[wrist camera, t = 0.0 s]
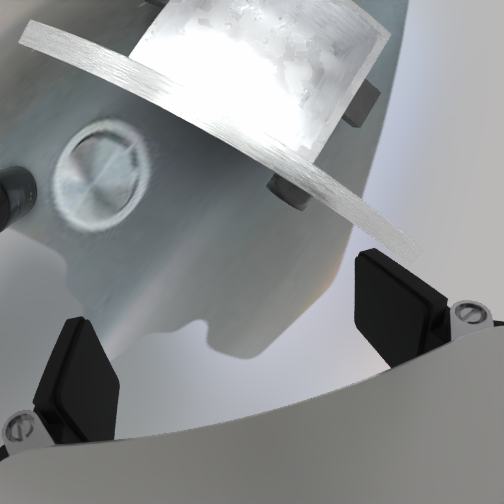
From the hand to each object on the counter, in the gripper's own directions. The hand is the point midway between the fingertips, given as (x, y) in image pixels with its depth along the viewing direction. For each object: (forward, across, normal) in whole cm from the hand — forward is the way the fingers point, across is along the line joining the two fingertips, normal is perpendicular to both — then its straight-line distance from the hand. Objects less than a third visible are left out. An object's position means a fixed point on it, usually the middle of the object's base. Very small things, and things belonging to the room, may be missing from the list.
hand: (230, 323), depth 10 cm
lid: (+11, -3, -7) cm, 14 cm away
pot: (+31, -10, -15) cm, 36 cm away
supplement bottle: (+32, +24, -5) cm, 40 cm away
